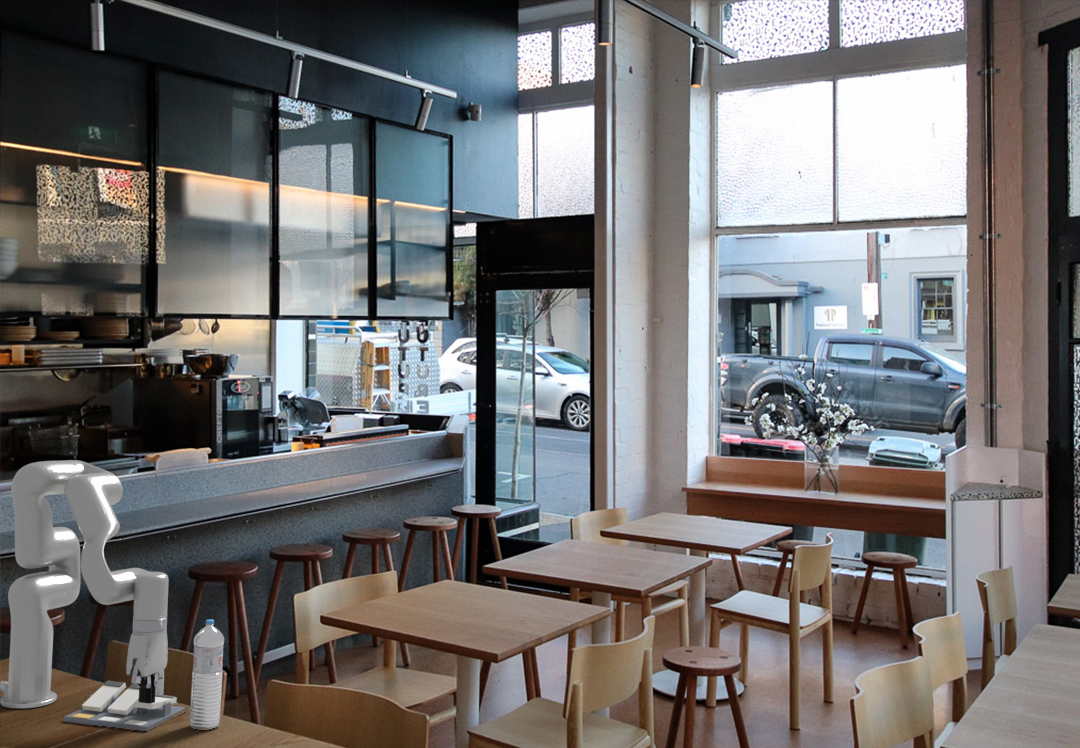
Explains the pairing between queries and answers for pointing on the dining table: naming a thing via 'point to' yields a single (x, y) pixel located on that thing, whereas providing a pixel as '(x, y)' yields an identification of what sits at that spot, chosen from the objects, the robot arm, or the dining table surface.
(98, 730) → the dining table surface
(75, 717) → the console
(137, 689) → the switch mid
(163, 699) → the switch
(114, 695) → the switch
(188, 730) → the dining table surface
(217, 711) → the water bottle
